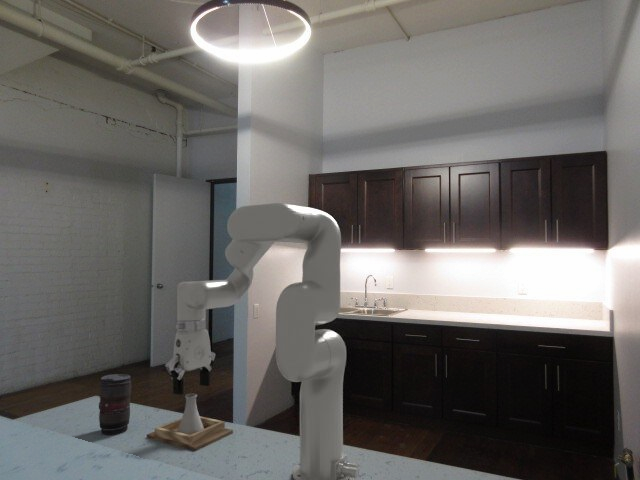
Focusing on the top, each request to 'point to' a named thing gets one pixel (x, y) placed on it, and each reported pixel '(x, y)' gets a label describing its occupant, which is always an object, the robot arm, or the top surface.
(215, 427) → the shaker holder
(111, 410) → the camera lens
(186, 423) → the flask
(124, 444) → the top surface
